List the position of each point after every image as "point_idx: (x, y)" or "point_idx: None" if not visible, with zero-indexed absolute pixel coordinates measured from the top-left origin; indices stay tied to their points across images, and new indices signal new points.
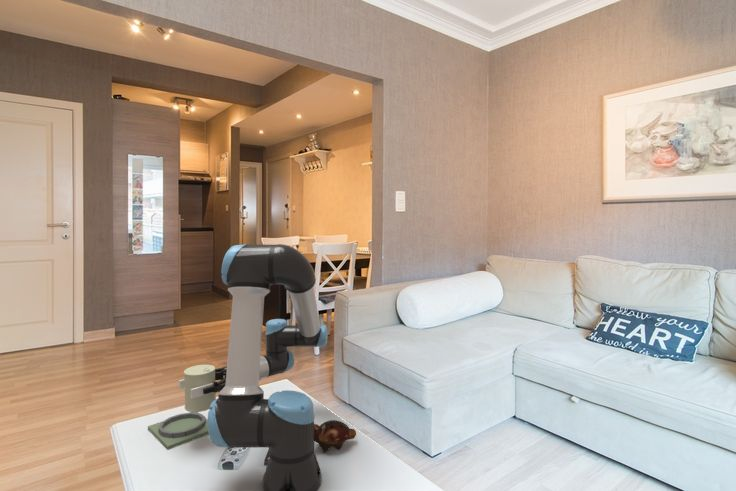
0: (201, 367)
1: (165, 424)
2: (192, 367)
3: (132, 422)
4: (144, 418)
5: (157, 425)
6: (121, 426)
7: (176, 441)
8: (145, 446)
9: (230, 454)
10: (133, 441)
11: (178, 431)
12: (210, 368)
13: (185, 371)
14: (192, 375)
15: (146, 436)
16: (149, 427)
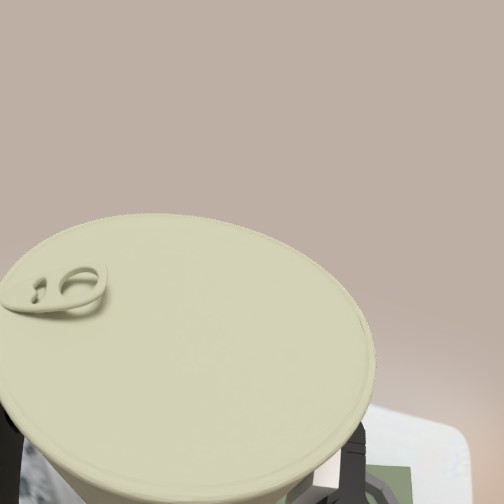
0: (241, 362)
1: (378, 498)
2: (342, 323)
3: (461, 455)
4: (466, 480)
5: (396, 486)
6: (454, 433)
7: None
8: None
9: (25, 476)
10: (362, 424)
11: None
12: (58, 361)
13: (277, 248)
14: (139, 216)
15: (366, 454)
16: (399, 467)
